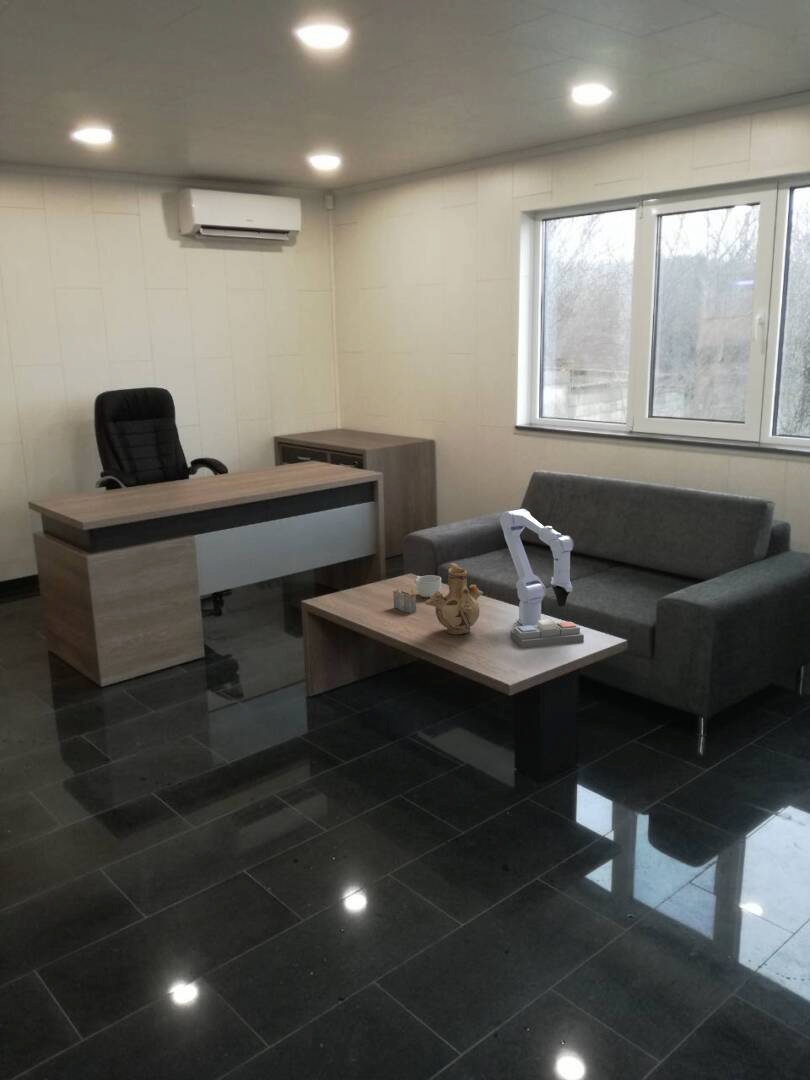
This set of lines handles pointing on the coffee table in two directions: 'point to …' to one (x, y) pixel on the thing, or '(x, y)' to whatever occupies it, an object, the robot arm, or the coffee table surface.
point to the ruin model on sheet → (405, 601)
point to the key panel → (547, 636)
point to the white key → (546, 624)
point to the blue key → (526, 628)
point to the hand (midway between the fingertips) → (561, 606)
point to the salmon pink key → (566, 625)
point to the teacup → (428, 585)
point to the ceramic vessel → (457, 602)
